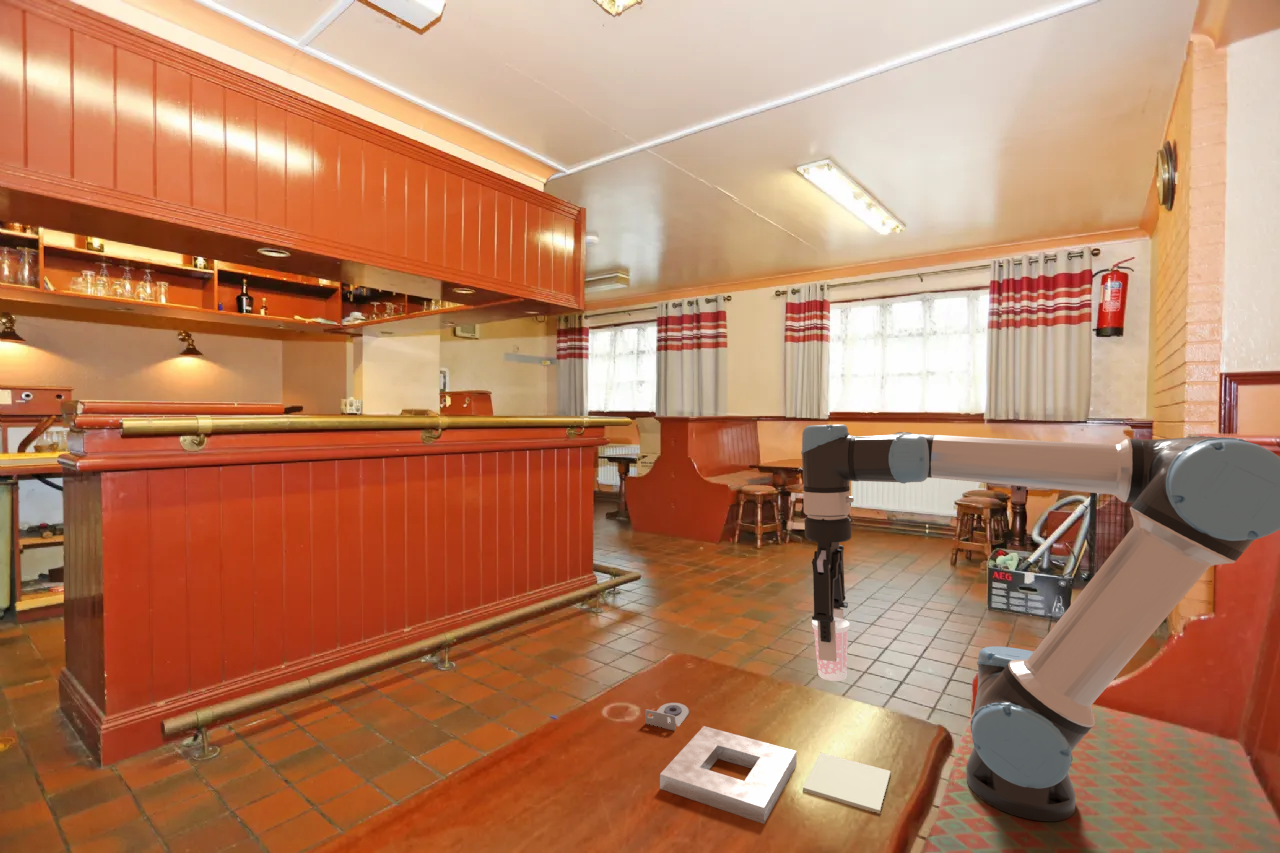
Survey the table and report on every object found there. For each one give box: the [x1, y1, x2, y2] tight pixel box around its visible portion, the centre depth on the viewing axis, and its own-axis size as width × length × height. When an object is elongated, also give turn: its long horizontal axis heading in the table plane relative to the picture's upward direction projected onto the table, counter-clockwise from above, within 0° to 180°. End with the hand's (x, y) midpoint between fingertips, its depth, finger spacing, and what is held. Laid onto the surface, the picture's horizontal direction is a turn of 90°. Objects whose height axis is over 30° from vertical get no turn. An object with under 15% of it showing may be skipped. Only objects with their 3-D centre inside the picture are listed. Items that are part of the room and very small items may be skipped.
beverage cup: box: [811, 617, 851, 682], centre depth 102 cm, size 6×6×14 cm
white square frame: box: [659, 725, 798, 825], centre depth 104 cm, size 18×18×2 cm
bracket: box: [644, 702, 690, 732], centre depth 126 cm, size 7×10×4 cm, turn 154°
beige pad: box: [802, 752, 891, 814], centre depth 102 cm, size 12×12×1 cm
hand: (831, 652), depth 102 cm, fingers closed on beverage cup, 6 cm apart
